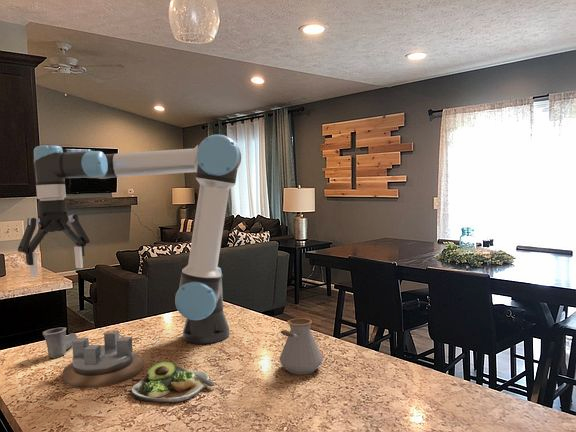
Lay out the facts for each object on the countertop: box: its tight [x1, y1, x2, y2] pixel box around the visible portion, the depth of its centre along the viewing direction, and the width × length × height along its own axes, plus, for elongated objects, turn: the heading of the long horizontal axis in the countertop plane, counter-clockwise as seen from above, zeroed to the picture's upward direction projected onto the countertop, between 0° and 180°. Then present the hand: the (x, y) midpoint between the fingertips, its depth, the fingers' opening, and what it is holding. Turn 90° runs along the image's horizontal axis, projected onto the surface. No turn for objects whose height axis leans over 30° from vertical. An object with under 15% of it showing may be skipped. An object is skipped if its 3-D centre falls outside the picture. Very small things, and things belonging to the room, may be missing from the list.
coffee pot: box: [276, 317, 324, 375], centre depth 117 cm, size 21×12×15 cm, turn 162°
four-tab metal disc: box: [71, 329, 134, 375], centre depth 123 cm, size 15×15×7 cm
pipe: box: [42, 327, 78, 359], centre depth 139 cm, size 6×13×8 cm, turn 174°
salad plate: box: [130, 360, 216, 403], centre depth 113 cm, size 19×18×5 cm
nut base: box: [62, 352, 144, 389], centre depth 124 cm, size 20×20×2 cm
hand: (57, 272), depth 134 cm, fingers open, 13 cm apart
